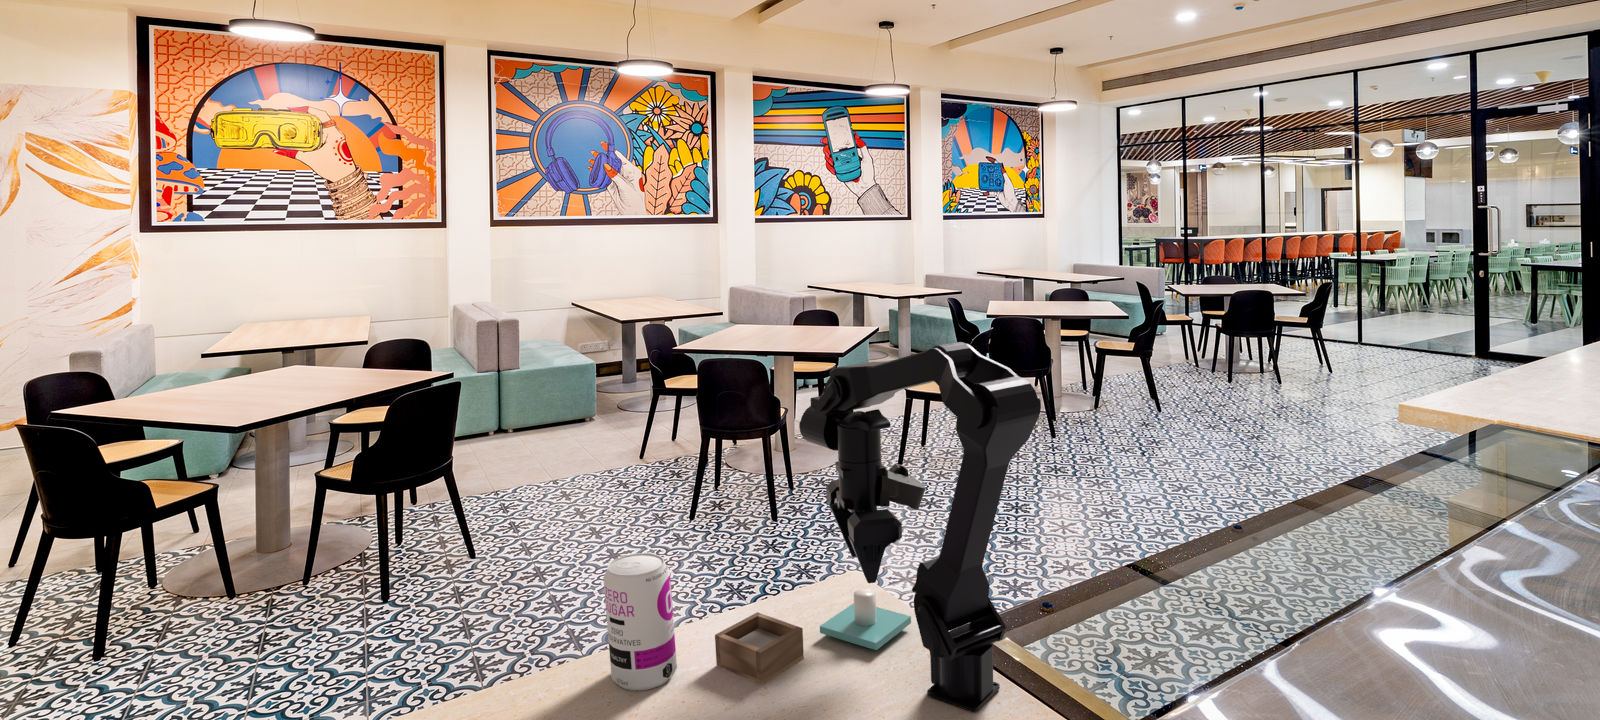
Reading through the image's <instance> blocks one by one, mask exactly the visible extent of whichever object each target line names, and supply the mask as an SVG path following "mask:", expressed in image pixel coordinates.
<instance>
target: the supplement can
mask: <svg viewBox="0 0 1600 720" xmlns="http://www.w3.org/2000/svg"><path fill="white" fill-rule="evenodd" d="M603 588H604V589H603V590H604V603H605V613H606V616H605V617H606V625H607V638H608V639H607V640H608V651H609V661H610V674H611V675H610V677H611V680H612V681H613V682H614V683H615V684H617V685H619V687H620V688H623V689H625V690H628V691H629V690H630V691H636V690H638V691H647V690H651V689H655V688H658V687H660V686H663V685H664V684H666V683H667V682H668V681H669V680H670V679H671V678H672V676H673V675H675V672H677V671H676V670H677V668H678V664H677V651H676V650H677V649H676V639H675V638H676V635H675V634H676V633H675V623H674V609H673V596H672V581H671V571H670V568H669V566H668V565H667V564H666V563H665V560H664V557H662V556H660V555H658V554H655V553H648V552H647V553H646V552H641V553H630V554H625V555H622V556H620V557H617V558H615V559H613V560H611V561H610V562H609V563H608V565H607V568H606V571H605V573H604V576H603ZM670 677H671V678H670ZM668 679H669V680H668ZM667 680H668V681H667ZM666 681H667V682H666ZM665 682H666V683H665ZM663 683H664V684H663ZM659 685H660V686H659ZM657 686H658V687H657Z"/></svg>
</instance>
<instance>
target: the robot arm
mask: <svg viewBox="0 0 1600 720" xmlns="http://www.w3.org/2000/svg"><path fill="white" fill-rule="evenodd" d="M828 375H829V378H828V379H827V381H826V383H825V385H824V388H823V390H822V392H821V394H820V395H819V396H813V397H811V398H810V406H808V408H806V409H805V411H804V412H803V413H802V415H801V418H800V422H799V424H798V425H799V433H800V434H801V436H802V438H803V439H804V440H805V441H807V442H808V443H811V444H814V445H817V446H820V447H824V448H826V449H828V450H832V451H837V453H838V454H837V456H838V457H837V458H838V461H835V462H834V463H835V470H836V472H837V473H838V479H832V480H831V481H830V482H829V483H828V484H827V485H826V487H825V490H826V491H825V493H826V495H825V496H826V497H825V498H826V501H827V502H828V505H829V506H828V507H829V508H830V510H831V513H832V515H833V518H834V520H835V521H836V524H837V527H838V528H839V531H840V532H841V533H840V534H841V535H842V538H843V539H844V542H845V544H846V546H847V549H848V551H849V554H850V555H851V557H853V558H856V559H857V561H858V563H859V565H860V568H861V570H862V574H863V575H864V577H865V580H866V582H867V583H868V584H875V583H877V579H878V576H879V572H880V568H881V564H882V560H883V557H884V554H885V551H886V548H887V547H888V546H890V545H891V544H894V543H897V541H898V540H899V541H900V540H901V539H902V538H903V528H902V527H903V526H902V525H903V524H902V523H901V521H900V520H899V519H898V517H897V516H896V515H895V514H894V513H893V512H892V511H890V509H888V508H886V507H890V506H891V505H890V502H891V503H894V504H898V505H902V506H906V507H910V508H909V509H913V510H916V511H917V510H920V507H921V504H922V500H923V497H924V494H925V492H926V486H925V485H924V484H923V483H922V482H921V481H920V480H918V479H917V478H915V477H914V476H910V475H909V470H908V468H907V467H906V466H905V465H902V464H899V463H894V464H893V465H892V466H891V467H890V468H889V469H887V467H885V466H884V464H883V463H882V440H881V439H882V437H881V435H882V434H881V430H883V429H884V430H885V429H888V428H889V429H890V428H891V422H890V421H889V419H888V418H887V417H886V416H884V415H883V414H882V412H881V410H880V408H879V409H878V408H876V409H872V410H866V411H862V410H860V409H865V408H870V407H872V406H877V405H881V404H883V403H885V402H886V401H888V400H890V399H892V398H893V397H894V396H895V394H896V393H898V392H900V391H902V390H906V389H909V388H910V389H911V388H915V387H919V386H923V385H928V384H931V383H935V384H936V385H937V386H938V389H939V392H940V397H941V402H942V404H943V405H944V406H945V407H946V408H947V409H948V410H949V411H950V412H951V413H952V414H953V415H954V416H955V417H956V422H955V431H956V434H957V436H958V439H959V441H960V444H961V447H962V449H963V455H962V456H963V457H962V460H961V464H960V469H959V472H958V473H959V474H958V476H957V480H956V486H955V490H954V494H953V499H952V502H951V507H950V511H949V515H948V520H947V524H946V528H945V531H944V535H943V536H944V537H943V542H942V546H941V549H940V554H939V556H938V557H935V558H932V559H928V560H925V561H922V562H920V563H919V565H918V567H917V570H916V578H915V583H914V585H913V587H912V588H911V591H912V592H913V593H914V597H913V608H914V609H913V610H914V614H915V618H916V623H917V627H918V631H919V634H920V635H919V636H920V640H921V643H922V646H923V647H924V648H925V649H927V650H928V651H929V656H930V682H931V684H933V685H932V686H931V687H929V688H928V689H927V692H926V693H927V696H928V697H931V698H933V699H936V700H940V701H943V702H945V703H948V704H951V705H953V706H956V707H959V708H962V709H964V710H968V711H971V712H977V711H979V710H980V709H981V708H982V707H983V706H984V705H985V704H986V703H987V702H988V701H989V700H990V699H991V698H992V697H993V696H994V695H995V694H996V693H997V692H998V691H999V690H1000V687H1001V686H1000V683H998V682H996V681H994V645H993V643H995V642H1000V641H1002V640H1003V639H1004V637H1005V636H1004V635H1005V633H1006V630H1007V626H1006V624H1005V623H1004V620H1003V619H1002V617H1001V616H1000V613H999V612H998V611H997V609H996V607H995V606H994V605H995V604H994V603H993V602H992V600H991V599H990V596H989V595H990V581H989V579H988V576H987V574H986V572H985V570H984V568H983V567H984V566H983V564H984V561H985V558H986V553H987V549H988V545H989V541H990V538H991V534H992V530H993V526H994V521H995V519H996V515H997V511H998V508H999V507H998V506H999V504H1000V498H1001V495H1002V492H1003V488H1004V484H1005V481H1006V476H1007V472H1008V469H1009V464H1010V462H1011V460H1012V459H1013V458H1014V456H1015V455H1016V454H1017V453H1018V452H1019V450H1020V449H1022V447H1023V446H1024V445H1025V444H1026V443H1027V441H1028V440H1029V439H1030V437H1031V435H1032V433H1033V430H1034V429H1035V426H1036V424H1037V422H1038V420H1039V418H1040V414H1041V409H1042V403H1041V398H1040V397H1038V394H1037V392H1036V389H1035V388H1034V387H1033V385H1032V384H1031V383H1030V382H1029V381H1028V380H1027V379H1025V377H1022V376H1019V375H1018V374H1017V373H1015V372H1014V371H1013V370H1012V369H1011V368H1010V367H1008V366H1006V365H1004V364H1002V363H999V362H998V361H995V360H993V359H992V358H989V357H986V356H984V355H983V354H981V353H980V352H979V351H977V349H975V348H974V347H973V346H972V345H970V344H969V343H965V342H964V341H963V342H962V341H959V342H958V341H957V342H950V343H944V344H943V343H942V344H938V345H934V346H932V347H931V348H929V349H928V350H923V351H920V352H917V353H914V354H909V355H907V356H903V357H900V358H897V359H893V360H890V361H870V362H869V361H868V362H863V363H856V364H849V365H844V366H838V367H837V366H836V367H834V368H832V369H831V370H830V371H829V374H828ZM960 378H964V379H965V380H966V381H968V382H970V383H972V384H970V385H969V386H967V385H966V384H965V383H964V382H963V381H962V380H961V379H960ZM854 410H856V411H854ZM878 507H881V508H883V509H878Z"/></svg>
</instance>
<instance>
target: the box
mask: <svg viewBox="0 0 1600 720" xmlns="http://www.w3.org/2000/svg"><path fill="white" fill-rule="evenodd" d="M803 630H804V629H803V627H800V626H797V625H794V624H792V623H790V622H787V621H783V620H781V619H778V618H775V617H773V616H769V615H766V614H764V613H761V612H758V611H757V612H755V613H753V614H751V615H749V616H747V617H745V618H743V619H742V620H740V621H738V622H736V623H735V624H732V625H731V626H729V627H727V628H726V629H723V630H721V631H719V632H717V633H716V634H714V641H715V643H714V644H715V646H714V647H715V661H716V662H715V663H716V667H718V668H721V669H723V670H725V671H728V672H731V673H733V674H736V675H738V676H740V677H743V678H745V679H747V680H749V681H751V682H754V683H757V684H759V685H762V686H763V685H764V684H766V683H767V682H769V681H770V680H772V679H774V678H776V677H777V676H779V675H780V674H781V673H783V672H785V671H786V670H788V669H790V668H791V667H793V666H794V665H796V664H797V663H799V662H801V661H803V660H804V659H805V658H804V657H805V655H804V652H805V651H804V633H803V632H804V631H803Z"/></svg>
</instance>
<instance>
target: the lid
mask: <svg viewBox="0 0 1600 720" xmlns="http://www.w3.org/2000/svg"><path fill="white" fill-rule="evenodd" d="M911 623H912V616H911V615H907V614H903V613H900V612H897V611H894V610H893V611H892V610H889V609H887V608H886V609H885V608H881V607H877V593H876V591H875V590H873V589H869V588H860V589H857V590H855V591H854V592H853V603H852V604H850V605H848V606H847V607H846V608H843V610H841V611H840V612H839V613H837V614H835V615H833V617H831V618H829V619H828V620H826V621H825V622H823V623H822V624H820V625H819V634H821V635H826V636H829V637H832V638H836V639H838V640H842V641H844V642H848V643H852V644H855V645H858V646H861V647H865V648H868V649H871V650H874V651H877V650H879V649H880V648H881V647H882V646H884V645H885V644H886V643H888V642H889V641H890V640H892V639H893V638H894V637H896V636H897V635H898V634H899V633H900V632H902V631H903V630H904V629H906V628H907V627H908V626H909V625H910V624H911Z"/></svg>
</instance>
